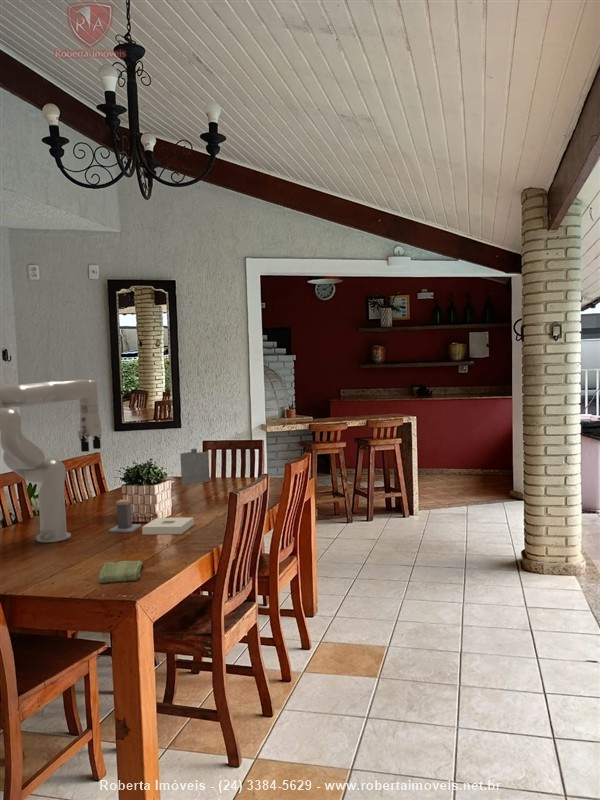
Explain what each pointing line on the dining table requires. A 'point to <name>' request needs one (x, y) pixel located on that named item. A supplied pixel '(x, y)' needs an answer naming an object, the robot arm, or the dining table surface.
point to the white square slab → (167, 526)
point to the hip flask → (194, 467)
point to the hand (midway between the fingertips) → (91, 450)
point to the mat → (130, 529)
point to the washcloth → (120, 571)
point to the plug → (124, 514)
